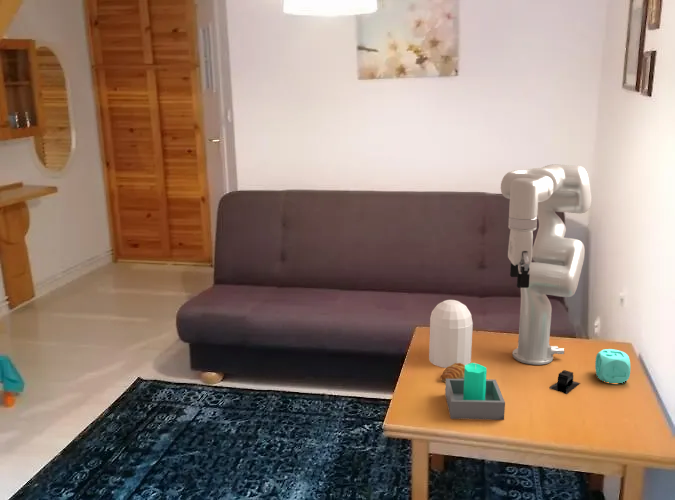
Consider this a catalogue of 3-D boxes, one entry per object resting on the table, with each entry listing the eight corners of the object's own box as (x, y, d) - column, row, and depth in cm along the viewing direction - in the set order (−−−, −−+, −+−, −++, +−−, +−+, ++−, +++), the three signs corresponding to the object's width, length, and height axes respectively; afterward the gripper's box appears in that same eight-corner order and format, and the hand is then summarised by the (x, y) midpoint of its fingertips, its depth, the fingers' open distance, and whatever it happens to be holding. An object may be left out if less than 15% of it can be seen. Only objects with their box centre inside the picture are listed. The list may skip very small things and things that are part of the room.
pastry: (454, 387, 195) (454, 375, 195) (434, 380, 200) (435, 369, 199) (470, 376, 202) (471, 365, 201) (451, 370, 207) (451, 359, 206)
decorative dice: (629, 385, 196) (631, 360, 194) (600, 383, 197) (603, 358, 195) (621, 373, 203) (623, 349, 201) (594, 372, 204) (596, 348, 202)
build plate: (562, 377, 202) (563, 363, 201) (586, 384, 198) (587, 370, 196) (543, 390, 194) (544, 376, 192) (567, 398, 189) (569, 383, 188)
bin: (494, 395, 189) (495, 379, 188) (504, 419, 176) (505, 402, 175) (445, 394, 190) (445, 378, 189) (450, 418, 177) (451, 401, 175)
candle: (460, 398, 186) (462, 358, 183) (481, 397, 186) (483, 357, 183) (466, 408, 180) (468, 367, 177) (487, 407, 180) (490, 366, 178)
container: (426, 366, 209) (428, 306, 205) (430, 350, 222) (432, 293, 217) (469, 370, 206) (472, 309, 201) (471, 353, 219) (474, 295, 214)
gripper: (503, 216, 193) (500, 272, 197) (514, 230, 176) (511, 291, 181) (529, 216, 192) (526, 272, 197) (543, 230, 176) (539, 291, 180)
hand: (519, 281), depth 189 cm, fingers open, 9 cm apart
